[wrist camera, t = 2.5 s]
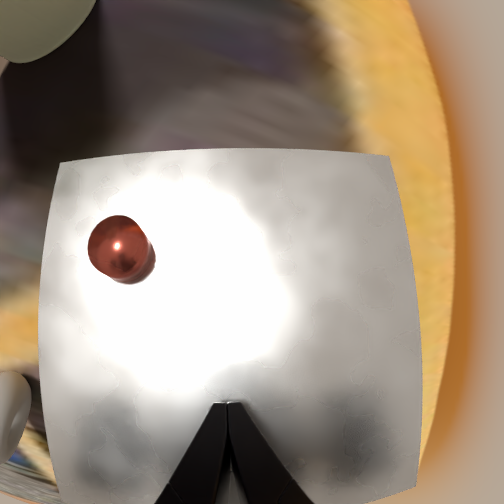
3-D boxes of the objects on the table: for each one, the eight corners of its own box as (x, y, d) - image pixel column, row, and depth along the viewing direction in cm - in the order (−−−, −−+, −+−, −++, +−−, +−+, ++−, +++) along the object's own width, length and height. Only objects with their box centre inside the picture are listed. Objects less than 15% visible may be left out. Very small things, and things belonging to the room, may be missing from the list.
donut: (35, 417, 24) (4, 483, 14) (10, 401, 23) (-25, 464, 13) (41, 364, 21) (-7, 444, 12) (11, 344, 20) (-43, 416, 11)
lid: (397, 525, 9) (419, 545, 6) (86, 539, 7) (69, 561, 5) (379, 167, 13) (400, 141, 11) (69, 173, 12) (48, 148, 10)
